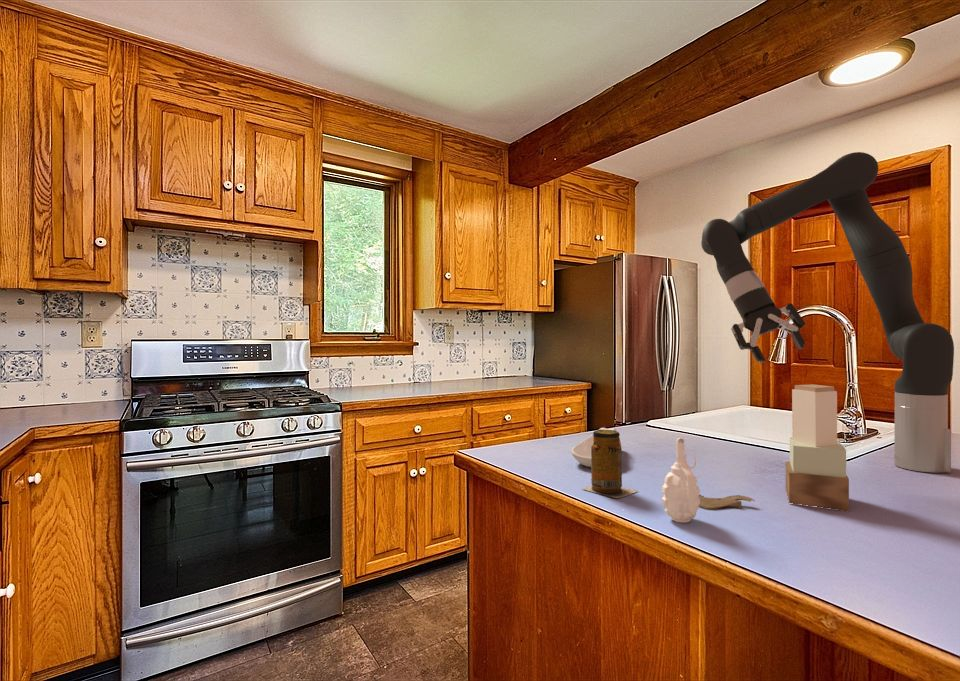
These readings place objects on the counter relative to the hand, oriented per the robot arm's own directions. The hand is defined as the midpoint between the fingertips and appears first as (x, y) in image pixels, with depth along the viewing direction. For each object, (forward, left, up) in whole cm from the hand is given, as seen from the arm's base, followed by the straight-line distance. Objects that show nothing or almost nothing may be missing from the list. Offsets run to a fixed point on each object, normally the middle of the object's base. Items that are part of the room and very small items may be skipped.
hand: (782, 355), depth 115 cm
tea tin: (-4, +20, -16) cm, 26 cm away
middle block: (-4, +21, -21) cm, 29 cm away
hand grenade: (+17, +42, -27) cm, 53 cm away
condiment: (+32, +31, -27) cm, 52 cm away
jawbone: (+14, +25, -27) cm, 40 cm away
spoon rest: (+40, +7, -27) cm, 48 cm away
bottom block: (-4, +21, -27) cm, 34 cm away
